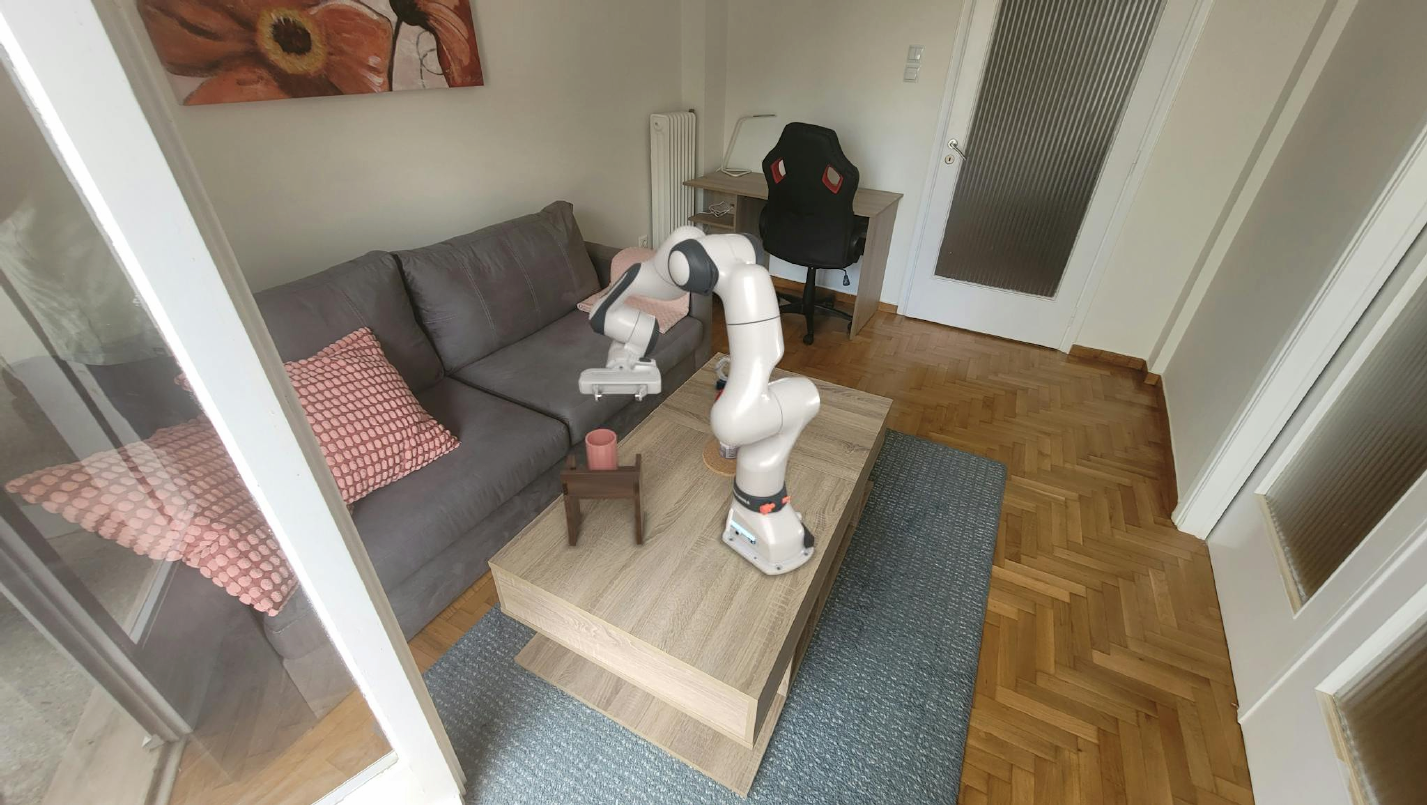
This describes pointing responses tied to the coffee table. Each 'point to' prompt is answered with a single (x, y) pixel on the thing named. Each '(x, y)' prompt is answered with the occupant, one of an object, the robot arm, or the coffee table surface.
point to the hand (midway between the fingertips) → (618, 398)
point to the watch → (723, 379)
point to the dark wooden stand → (601, 491)
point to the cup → (602, 450)
